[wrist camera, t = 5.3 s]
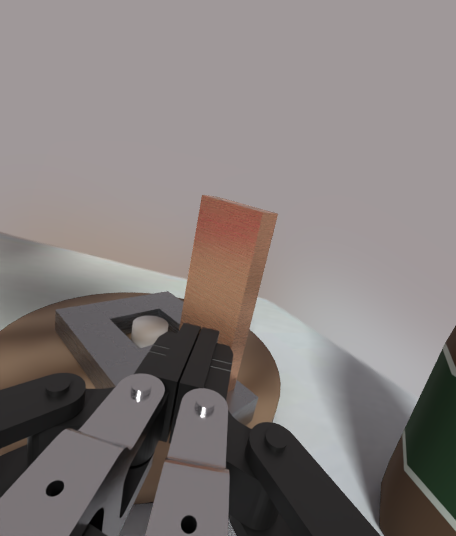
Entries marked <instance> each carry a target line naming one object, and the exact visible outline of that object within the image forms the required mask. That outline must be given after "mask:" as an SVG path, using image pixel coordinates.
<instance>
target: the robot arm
mask: <svg viewBox="0 0 456 536" xmlns="http://www.w3.org/2000/svg"><path fill="white" fill-rule="evenodd" d="M219 333H220V331H218V330H214V329H210V328H205V327H202V329H201V326H197V325H193V324H189V323H185V322H184V323H183V325H182V326H181V328H180V330H179V332H178V333H173V332H169V331H168V332H166V333H164V334H162V335H161V336H159V337H158V338H157V340H156V341H155V343H154V345H153V346H152V347H151V349H150V350H149V352H148V353H147V355H146V356H145V358H144V359H143V361H142V362H141V364H140V365H139V367H138V368H137V370H136V371H135V373H134V374H133V375H130V376H127V377H126V378H124V379H122V380H121V381H120V382H119V383H118V385H117V386H116V387H112V388H103V389H86V384H85V381H84V380H83V379H82V378H81V377H80V376H78V375H76V374H72V373H56V374H51V375H48V376H44V377H41V378H38V379H35V380H31V381H28V382H25V383H21V384H18V385H15V386H12V387H8V388H5V389H2V390H0V449H1V448H3V447H6V446H8V445H10V444H13V443H15V442H18V441H20V440H22V439H25V438H27V444H26V445H24V446H22V447H20V448H17V449H15V450H13V451H10V452H8V453H6V454H3V455H1V456H0V536H119V534H120V532H121V529H122V527H123V525H124V523H125V521H126V518H127V516H128V514H129V512H130V510H131V508H132V506H133V504H134V502H135V500H136V498H137V495H138V493H139V491H140V489H141V487H142V485H143V483H144V481H145V479H146V477H147V474H148V472H149V470H150V468H151V466H152V463H153V458H154V452H155V448H156V446H157V443H158V441H163V442H167V440H168V437H169V434H170V438H169V443H170V448H169V452H168V455H167V457H166V458H165V462H164V465H163V469H162V473H161V476H160V480H159V484H158V488H157V492H156V495H155V499H154V503H153V507H152V511H151V514H150V518H149V522H148V526H147V530H146V533H145V536H228V514H229V519H230V523H231V525H232V527H233V529H234V531H235V533H236V535H237V536H380V535H379V533H378V532H377V531H376V530H375V529H374V528H373V526H372V525H371V524H370V523H369V522H368V521H367V520H366V518H365V517H364V516H363V515H362V514H361V513H360V511H359V510H358V509H357V508H356V507H355V506H354V505H353V503H352V502H351V501H350V500H349V499H348V498H347V496H346V495H345V494H344V493H343V492H342V491H341V490H340V488H339V487H338V486H337V485H336V484H335V483H334V481H333V480H332V479H331V478H330V477H329V476H328V475H327V473H326V472H325V471H324V470H323V469H322V468H321V466H320V465H319V464H318V463H317V462H316V461H315V460H314V458H313V457H312V456H311V455H310V454H309V453H308V451H307V450H306V449H305V448H304V447H303V446H302V445H301V443H300V442H299V441H298V440H297V439H296V438H295V436H294V435H293V434H292V433H291V432H290V431H288V430H287V429H286V428H284V427H283V426H281V425H278V424H276V423H271V422H262V423H259V424H257V425H255V426H254V427H253V428H252V429H251V428H249V427H247V426H245V425H244V424H242V423H240V422H239V421H237V420H236V419H235V418H234V417H233V416H232V415H231V413H230V412H229V410H228V405H227V402H226V398H227V392H228V386H229V380H230V374H231V367H232V361H233V355H234V354H233V352H232V350H231V348H230V346H228V345H223V344H219V343H217V342H218V338H219Z"/></svg>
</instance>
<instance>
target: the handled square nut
mask: <svg viewBox="0 0 456 536" xmlns="http://www.w3.org/2000/svg"><path fill="white" fill-rule="evenodd" d="M277 215H278V214H277V213H273V212H269V211H266V210H262V209H259V208H255V207H252V206H248V205H245V204H241V203H237V202H234V201H230V200H227V199H223V198H220V197H214V196H207V195H202V198H201V205H200V210H199V217H198V222H197V228H196V234H195V239H194V245H193V251H192V257H191V263H190V268H189V275H188V280H187V286H186V292H185V298H184V302H183V301H181V300H180V299H178V298H177V297H175V296H174V295H172V294H171V293H169V292H168V291H167V292H161V293H155V294H148V295H142V296H136V297H130V298H123V299H117V300H111V301H105V302H99V303H92V304H86V305H80V306H74V307H68V308H61V309H56V311H55V331H56V332H57V334H58V335H59V337H60V338H61V340H62V341H63V342H64V344H65V345H66V347H67V348H68V349H69V351H70V352H71V354H72V355H73V357H74V358H75V359H76V361H77V362H78V364H79V365H80V366H81V368H82V369H83V371H84V372H85V374H86V375H87V376H88V378H89V379H90V381H91V382H92V383H93V385H94V386H95V388H96V389H103V388H112V387H116V386H117V385H118V383H119V382H120V381H121V380H122V379H124V378H126V377H127V376H130V375H133V374H134V373H135V371H136V370H137V368H138V367H139V365H140V364H141V362H142V361H143V359H144V358H145V356H146V355H147V353H148V352H149V350H150V349H151V347H152V346H153V345H154V344H153V345H150V346H146V347H143V348H140V349H139V348H138V347H137V346H136V345H135V344H134V343H133V342H132V341H131V340H130V339H129V338H128V337H127V336H126V335H125V334H129V333H132V325H133V321H134V320H135V319H136V318H138V317H141V316H157V317H160V318H163V319H164V320H166V321H167V322H168V331H169V332H173V333H178V332H179V330H180V328H181V326H182V325H183V323H184V322H185V323H189V324H193V325H197V326H201V329H202V327H205V328H210V329H214V330H218V331H220V333H219V338H218V342H217V343H219V344H223V345H228V346H230V348H231V350H232V352H233V354H234V355H233V361H232V367H231V374H230V380H229V386H228V392H227V398H226V402H227V405H228V410H229V412H230V413H231V415H232V416H233V417H234V418H235V419H236V420H237V421H239V422H240V423H242V424H244V425H247V424H248V423H250V422H251V421H252V419H253V415H254V412H255V408H256V404H257V401H258V396H256V395H255V394H254V393H253V392H251V391H250V390H249V389H248V388H246V387H245V386H244V385H243V384H241V383H240V382H239V381H238V380H237V376H238V372H239V368H240V364H241V360H242V356H243V352H244V348H245V344H246V340H247V336H248V332H249V328H250V324H251V320H252V316H253V312H254V308H255V304H256V300H257V296H258V292H259V288H260V284H261V280H262V275H263V272H264V268H265V264H266V260H267V256H268V251H269V248H270V243H271V239H272V236H273V232H274V228H275V224H276V220H277Z"/></svg>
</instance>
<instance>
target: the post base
mask: <svg viewBox="0 0 456 536" xmlns="http://www.w3.org/2000/svg"><path fill="white" fill-rule="evenodd" d="M148 294H149V293H105V294H96V295H89V296H83V297H77V298H73V299H69V300H64V301H61V302H58V303H54V304H51V305H48V306H46V307H43V308H40V309H38V310H35V311H33V312H31V313H29V314H27V315H25V316H23V317H21V318H19V319H18V320H16V321H14V322H13V323H11V324H9V325H8V326H7V327H5V328H4V329H3V330H1V331H0V390H2V389H5V388H8V387H12V386H15V385H18V384H21V383H25V382H28V381H31V380H35V379H38V378H41V377H44V376H48V375H51V374H56V373H72V374H76V375H78V376H80V377H81V378H82V379H83V380H84V381H85V384H86V389H96V388H95V386H94V385H93V383H92V382H91V381H90V379H89V378H88V376H87V375H86V374H85V372H84V371H83V369H82V368H81V366H80V365H79V364H78V362H77V361H76V359H75V358H74V357H73V355H72V354H71V352H70V351H69V349H68V348H67V347H66V345H65V344H64V342H63V341H62V340H61V338H60V337H59V335H58V334H57V332H56V331H55V311H56V309H61V308H68V307H74V306H80V305H86V304H92V303H99V302H105V301H111V300H117V299H123V298H130V297H136V296H142V295H148ZM178 299H180V300H181V301H183V302H184V299H181V298H178ZM166 332H168V322H167V321H166V320H164V319H163V318H160V317H157V316H141V317H138V318H136V319H135V320H134V321H133V325H132V333H129V334H125V335H126V336H127V337H128V338H129V339H130V340H131V341H132V342H133V343H134V344H135V345H136V346H137V347H138V348H139V349H140V348H143V347H146V346H150V345H153V344H154V343H155V341H156V340H157V338H158V337H159V336H161V335H162V334H164V333H166ZM237 380H238V381H239V382H240V383H241V384H243V385H244V386H245V387H246V388H248V389H249V390H250V391H251V392H253V393H254V394H255V395H256V396H258V401H257V404H256V408H255V412H254V415H253V419H252V421H251V422H250V423H248V424H247V425H245V426H247V427H249V428H251V429H252V428H253V427H254V426H255V425H257V424H259V423H262V422H271V423H272V422H273V419H274V415H275V412H276V409H277V405H278V401H279V397H280V377H279V371H278V368H277V366H276V363H275V360H274V359H273V357H272V355H271V353H270V351H269V350H268V349H267V347H266V346H265V345H264V343H263V342H262V341H261V340H260V339H259V338H258V337H257V336H256V335H255V334H254V333H253V332H252V331H250V330H249V332H248V336H247V340H246V344H245V348H244V352H243V356H242V360H241V364H240V368H239V372H238V376H237ZM169 438H170V434H169V437H168V440H167V442H163V441H158V443H157V446H156V448H155V452H154V458H153V463H152V466H151V468H150V470H149V472H148V474H147V477H146V479H145V481H144V483H143V485H142V487H141V489H140V491H139V493H138V495H137V498H136V500H135V502H134V504H143V503H150V502H154V499H155V495H156V492H157V488H158V484H159V480H160V476H161V473H162V469H163V465H164V462H165V458H166V457H167V455H168V452H169V448H170V443H169ZM26 444H27V438H25V439H22V440H20V441H18V442H15V443H13V444H10V445H8V446H6V447H3V448H1V449H0V456H1V455H3V454H6V453H8V452H10V451H13V450H15V449H17V448H20V447H22V446H24V445H26Z"/></svg>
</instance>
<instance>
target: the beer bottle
mask: <svg viewBox="0 0 456 536" xmlns="http://www.w3.org/2000/svg"><path fill="white" fill-rule="evenodd" d="M380 529H381V531H382V532H383V534H384V536H456V326H455V328H454V329H453V331H452V333H451V335H450V336H449V338H448V339H447V341H446V343H445V345H444V347H443V349H442V351H441V353H440V355H439V357H438V360H437V362H436V364H435V366H434V368H433V370H432V373H431V374H430V376H429V379H428V381H427V383H426V385H425V387H424V389H423V391H422V394H421V395H420V398H419V400H418V402H417V404H416V406H415V408H414V410H413V412H412V415H411V417H410V419H409V421H408V423H407V425H406V427H405V429H404V431H403V434H402V436H401V438H400V440H399V442H398V444H397V446H396V448H395V450H394V453H393V455H392V457H391V459H390V461H389V463H388V466H387V469H386V472H385V474H384V477H383V480H382V482H381V499H380Z"/></svg>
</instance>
